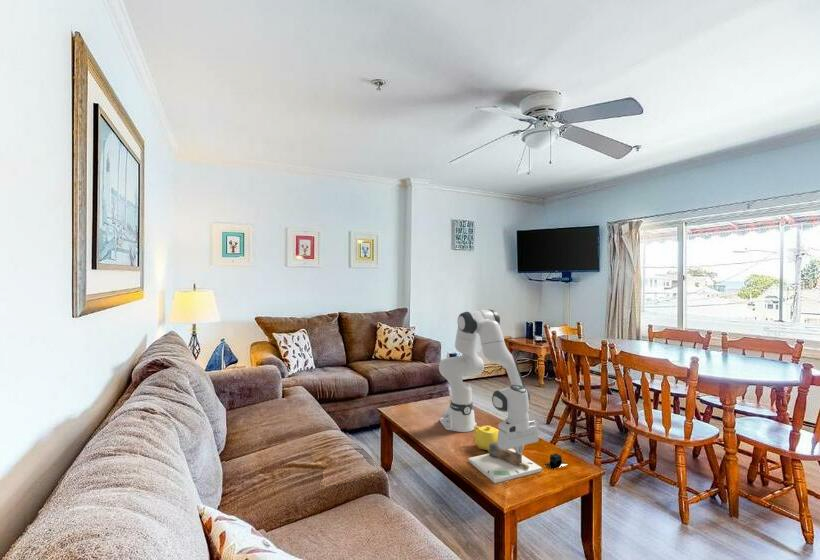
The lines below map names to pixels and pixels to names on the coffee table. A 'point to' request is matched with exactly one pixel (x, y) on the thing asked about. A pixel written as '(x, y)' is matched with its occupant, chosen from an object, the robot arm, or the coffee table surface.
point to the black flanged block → (556, 461)
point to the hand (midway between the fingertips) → (518, 455)
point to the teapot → (485, 436)
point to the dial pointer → (506, 455)
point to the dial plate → (503, 467)
